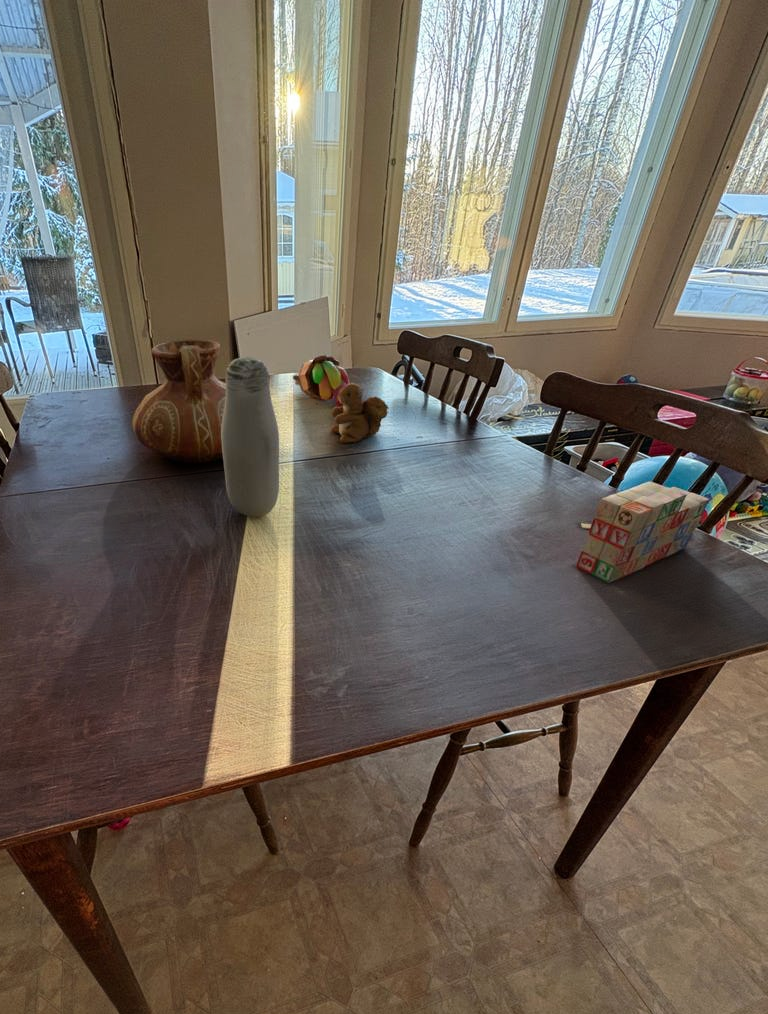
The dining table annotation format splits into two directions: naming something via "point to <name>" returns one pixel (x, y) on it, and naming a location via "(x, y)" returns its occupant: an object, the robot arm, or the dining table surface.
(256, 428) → the grey bottle
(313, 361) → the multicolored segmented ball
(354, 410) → the stuffed squirrel
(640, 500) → the stack of blocks
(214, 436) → the jug
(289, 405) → the dining table surface
